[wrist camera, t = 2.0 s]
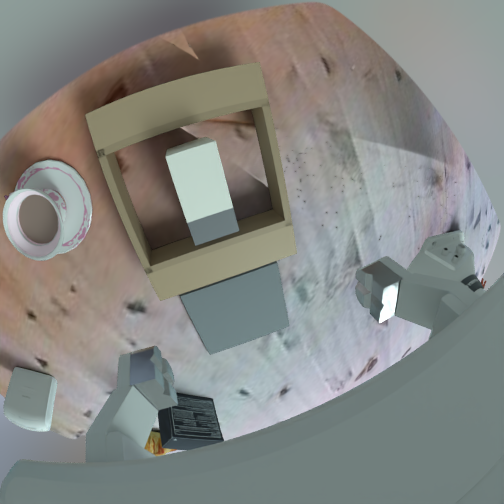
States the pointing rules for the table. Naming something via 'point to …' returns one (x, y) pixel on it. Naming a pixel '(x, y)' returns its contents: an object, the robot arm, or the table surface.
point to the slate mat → (238, 308)
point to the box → (202, 189)
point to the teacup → (47, 210)
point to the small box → (189, 424)
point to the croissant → (156, 445)
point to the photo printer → (30, 399)
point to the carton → (182, 114)
